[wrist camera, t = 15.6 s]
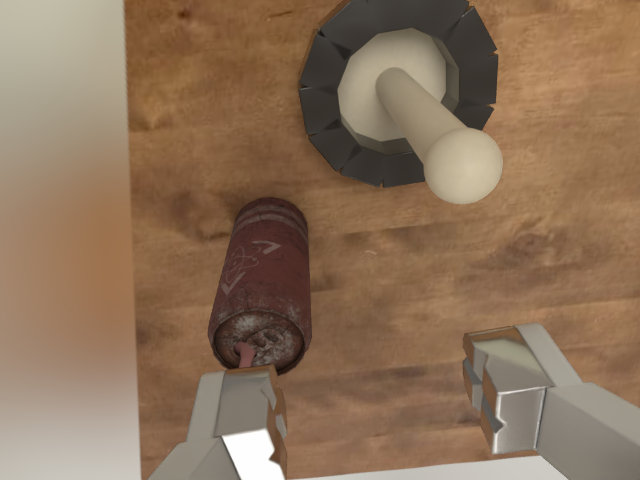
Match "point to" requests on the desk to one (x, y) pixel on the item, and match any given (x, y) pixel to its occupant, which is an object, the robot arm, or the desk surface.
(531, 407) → the robot arm
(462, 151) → the stand
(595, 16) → the desk surface
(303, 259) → the can
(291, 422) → the desk surface
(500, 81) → the desk surface
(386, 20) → the ring
